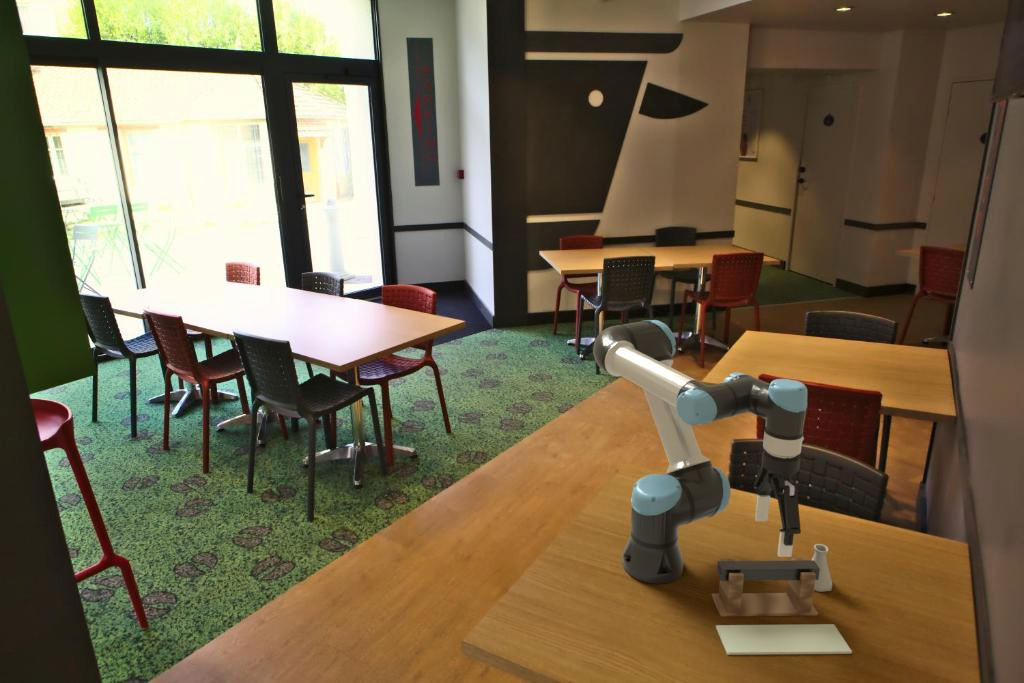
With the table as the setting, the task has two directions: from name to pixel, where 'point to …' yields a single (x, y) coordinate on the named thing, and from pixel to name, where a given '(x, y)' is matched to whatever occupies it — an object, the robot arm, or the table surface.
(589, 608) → the table surface
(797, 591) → the rack
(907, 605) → the table surface
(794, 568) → the rail
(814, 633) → the mat
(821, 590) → the flask
